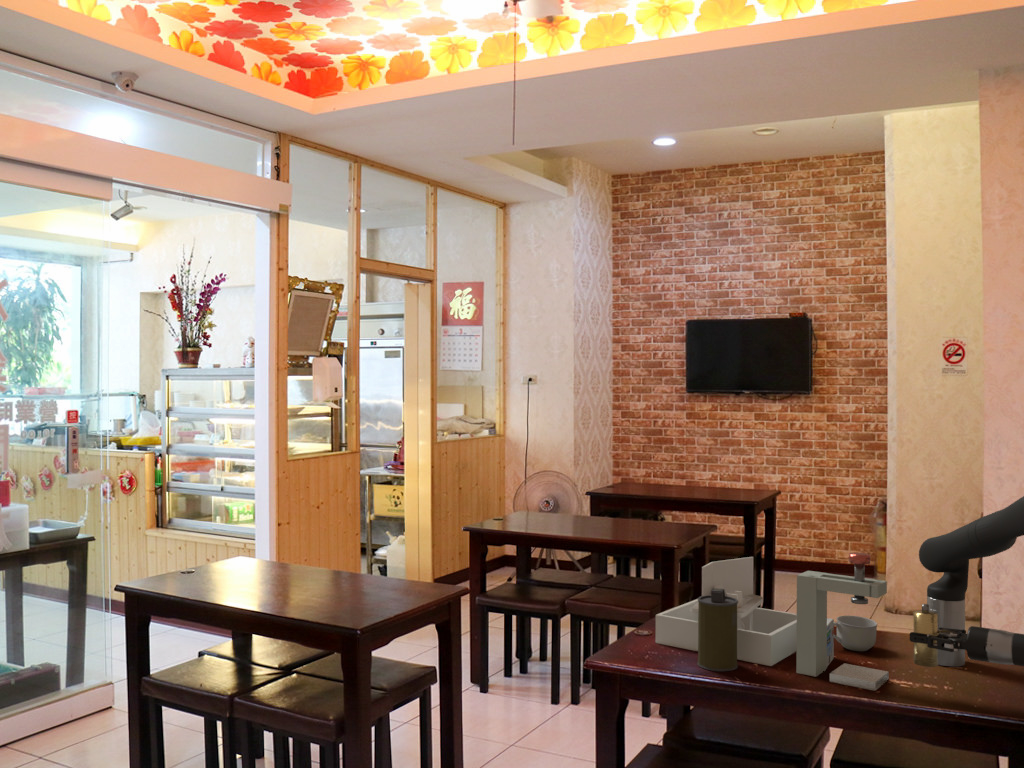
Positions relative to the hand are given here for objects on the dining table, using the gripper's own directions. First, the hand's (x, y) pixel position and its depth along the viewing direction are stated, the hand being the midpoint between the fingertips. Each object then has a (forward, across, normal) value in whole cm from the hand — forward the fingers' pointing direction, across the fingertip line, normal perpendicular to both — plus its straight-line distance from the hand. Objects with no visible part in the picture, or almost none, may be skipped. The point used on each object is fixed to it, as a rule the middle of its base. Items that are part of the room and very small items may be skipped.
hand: (913, 634), depth 216 cm
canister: (+46, +10, +14) cm, 49 cm away
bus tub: (+52, -12, +13) cm, 55 cm away
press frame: (+18, -1, +14) cm, 23 cm away
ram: (+13, -1, -6) cm, 14 cm away
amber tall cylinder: (-3, 0, +7) cm, 7 cm away
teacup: (+24, -29, +14) cm, 41 cm away
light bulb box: (+27, -11, +14) cm, 33 cm away
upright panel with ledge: (+53, -12, +14) cm, 56 cm away
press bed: (+13, -1, +14) cm, 19 cm away
